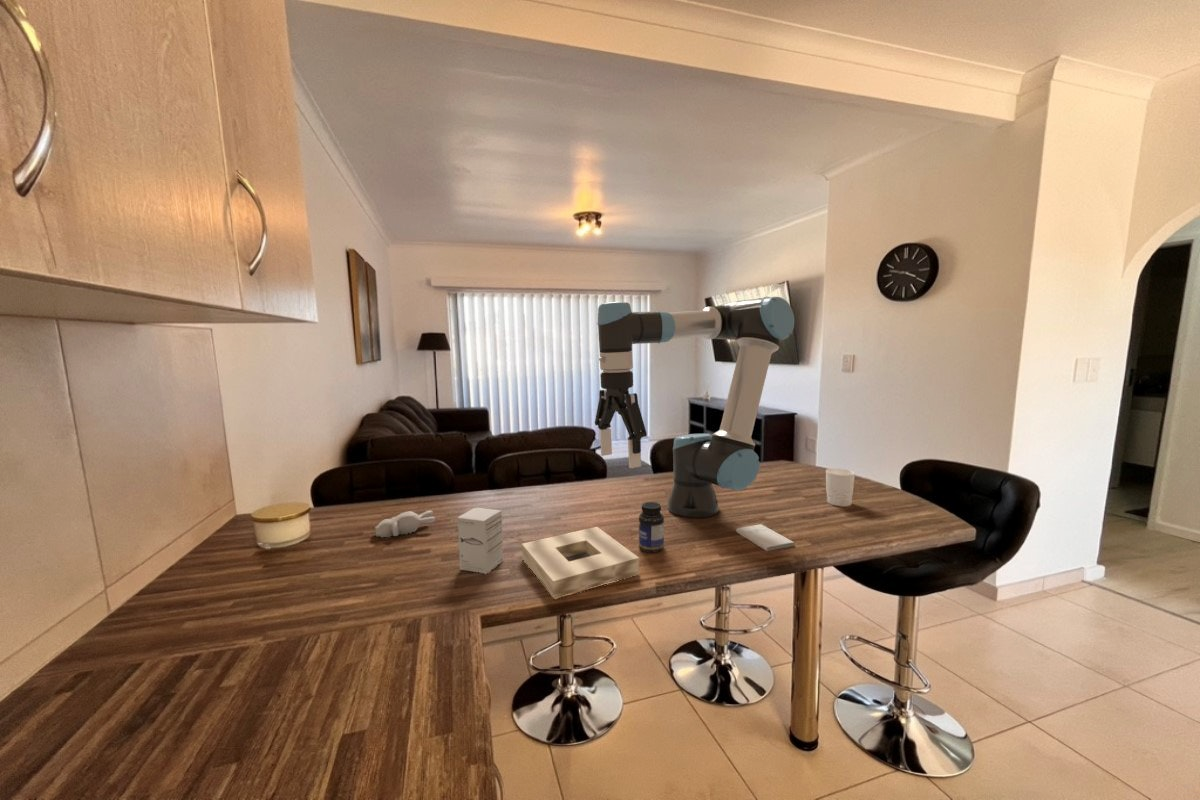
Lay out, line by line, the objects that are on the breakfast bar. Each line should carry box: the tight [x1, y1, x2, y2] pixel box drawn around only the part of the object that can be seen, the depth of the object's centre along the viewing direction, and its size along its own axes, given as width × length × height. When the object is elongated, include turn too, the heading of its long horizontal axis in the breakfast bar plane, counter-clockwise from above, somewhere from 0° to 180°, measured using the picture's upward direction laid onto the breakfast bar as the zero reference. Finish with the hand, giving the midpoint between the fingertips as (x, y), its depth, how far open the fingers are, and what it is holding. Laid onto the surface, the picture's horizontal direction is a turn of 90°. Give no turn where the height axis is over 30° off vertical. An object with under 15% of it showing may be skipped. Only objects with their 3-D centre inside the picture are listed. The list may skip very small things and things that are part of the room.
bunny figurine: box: [374, 509, 436, 539], centre depth 126 cm, size 10×5×15 cm
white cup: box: [825, 467, 856, 507], centre depth 140 cm, size 8×8×10 cm
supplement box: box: [457, 507, 504, 575], centre depth 104 cm, size 7×7×13 cm
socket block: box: [521, 526, 640, 599], centre depth 103 cm, size 20×20×4 cm
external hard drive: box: [735, 523, 795, 552], centre depth 116 cm, size 2×8×12 cm
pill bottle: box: [638, 501, 665, 553], centre depth 112 cm, size 6×6×11 cm
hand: (620, 460), depth 107 cm, fingers open, 13 cm apart
